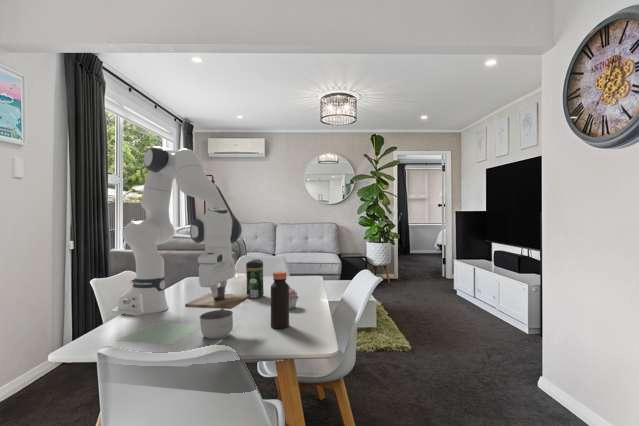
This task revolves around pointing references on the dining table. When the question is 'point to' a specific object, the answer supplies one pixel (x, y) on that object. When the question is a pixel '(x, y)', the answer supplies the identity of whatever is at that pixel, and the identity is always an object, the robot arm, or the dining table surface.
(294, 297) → the cupcake
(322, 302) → the dining table surface
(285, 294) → the bottle
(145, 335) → the mat
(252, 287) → the coffee jar
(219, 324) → the teacup
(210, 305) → the lid
